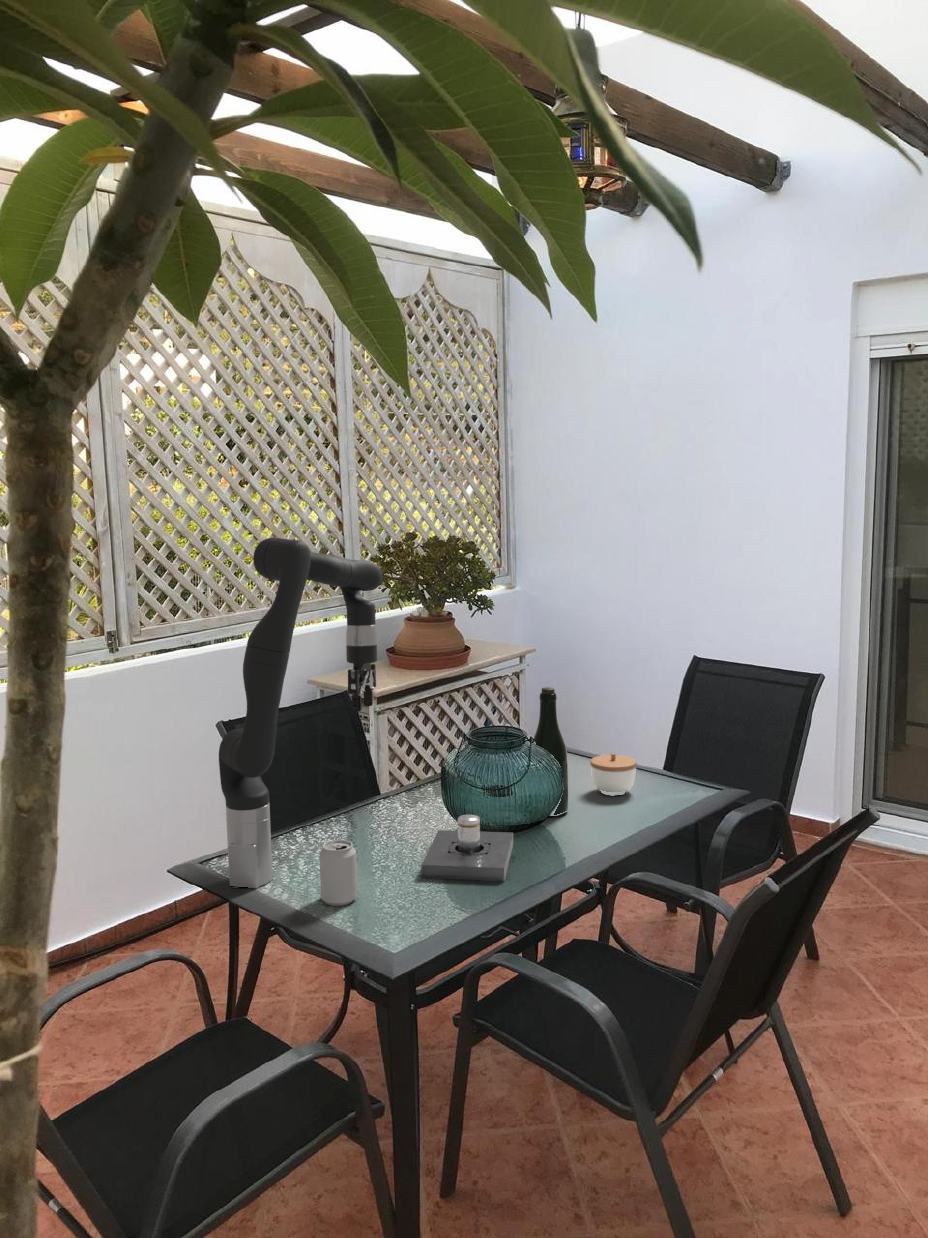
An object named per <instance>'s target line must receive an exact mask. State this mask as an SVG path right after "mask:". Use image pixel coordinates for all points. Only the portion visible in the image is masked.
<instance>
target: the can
mask: <svg viewBox="0 0 928 1238" xmlns="http://www.w3.org/2000/svg"><path fill="white" fill-rule="evenodd" d="M321 846H322V849H321V850H320V851H319V853H318V854H319V874H320V875H319V876H320V881H319V882H320V898H321V900H322V901H324V902H325V903H326V904H327V905H329V906H334V907H339V906H340V907H341V906H345V905H349V904H351V903H353V901H354V900H355V899H356V898H357V897H358V872H357V871H358V870H357V851H356V850H357V849H356V848H354V847H353V846H354V844H353V842H352V841H349V840H346V839H333V840H329V841H327V842H325V843H323V844H322V845H321Z"/></svg>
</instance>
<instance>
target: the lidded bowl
mask: <svg viewBox="0 0 928 1238" xmlns="http://www.w3.org/2000/svg"><path fill="white" fill-rule="evenodd" d="M636 770H637V761H636V759H634V758H632V757H630V756H627V755H621V754H620V755H619V754H616V753H614V752H613V753H610V754H603V755H597V756H594V757H592V758H591V759H590V775H591V779H592V782H593V785H594V786H595V788H596V789H597V790H598V789H599V790H602V791H606V792H622V791H627V790H628V791H630V789H631V788H632V787H633V785H634V783H635V779H636V772H637V771H636ZM599 790H598V791H599ZM628 791H627V792H628Z"/></svg>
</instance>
